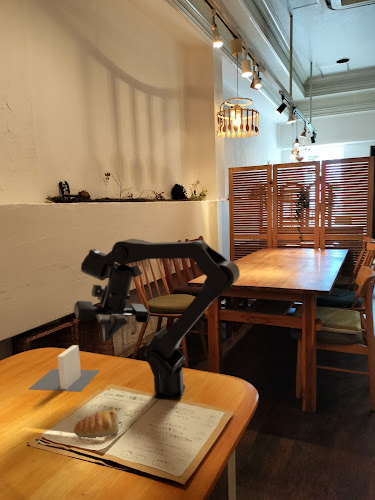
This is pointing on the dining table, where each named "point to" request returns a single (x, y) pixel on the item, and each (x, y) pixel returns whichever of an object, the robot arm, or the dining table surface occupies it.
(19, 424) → the dining table surface
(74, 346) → the tile
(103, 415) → the pastry
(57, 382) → the mat
